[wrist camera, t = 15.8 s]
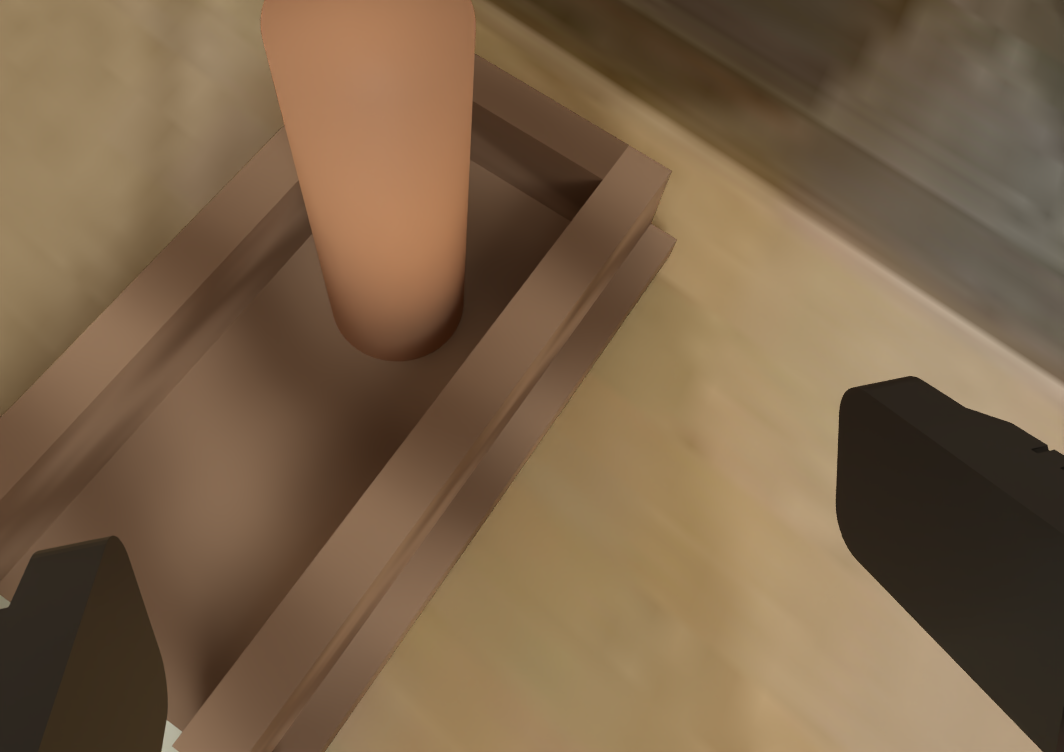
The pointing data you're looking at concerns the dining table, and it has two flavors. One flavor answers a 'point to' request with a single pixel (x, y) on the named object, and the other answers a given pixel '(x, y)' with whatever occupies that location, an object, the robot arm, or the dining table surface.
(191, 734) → the slot board
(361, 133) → the orange rounded cylinder
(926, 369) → the dining table surface
